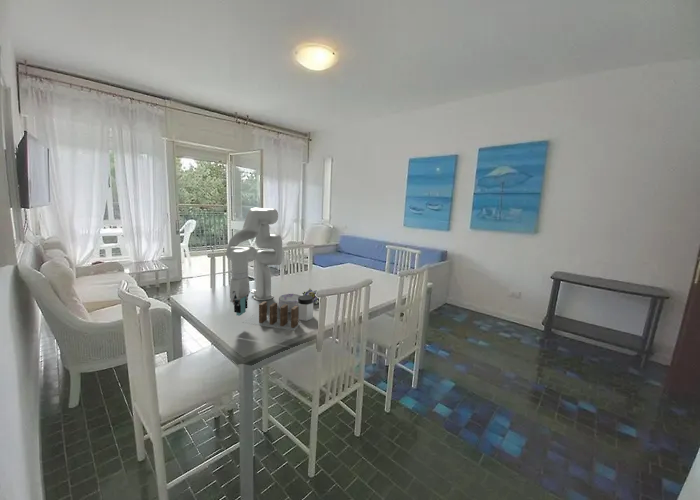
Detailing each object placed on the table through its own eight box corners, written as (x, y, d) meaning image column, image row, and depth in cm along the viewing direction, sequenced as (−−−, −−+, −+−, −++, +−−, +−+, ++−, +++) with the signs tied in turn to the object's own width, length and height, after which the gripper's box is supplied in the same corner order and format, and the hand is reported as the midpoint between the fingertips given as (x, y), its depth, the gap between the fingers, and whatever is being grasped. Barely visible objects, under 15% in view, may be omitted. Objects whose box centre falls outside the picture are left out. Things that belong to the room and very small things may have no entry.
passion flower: (311, 314, 180) (302, 301, 173) (305, 305, 189) (296, 293, 182) (326, 303, 183) (317, 290, 176) (319, 295, 191) (311, 282, 185)
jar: (306, 313, 166) (306, 293, 164) (315, 318, 161) (316, 297, 159) (294, 318, 160) (294, 297, 158) (303, 322, 154) (304, 301, 152)
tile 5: (290, 327, 147) (291, 309, 145) (294, 323, 152) (295, 305, 150) (294, 328, 146) (294, 309, 145) (298, 324, 151) (298, 306, 149)
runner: (242, 323, 150) (242, 322, 150) (252, 315, 160) (252, 315, 160) (294, 331, 144) (294, 330, 144) (301, 323, 153) (301, 322, 153)
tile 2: (259, 322, 151) (258, 304, 149) (263, 319, 155) (263, 301, 154) (262, 323, 150) (262, 304, 149) (266, 319, 155) (266, 301, 153)
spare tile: (236, 315, 141) (235, 296, 139) (242, 311, 146) (242, 292, 144) (239, 315, 141) (239, 296, 139) (245, 311, 145) (245, 293, 143)
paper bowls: (290, 303, 182) (290, 291, 180) (309, 308, 175) (310, 296, 173) (273, 310, 168) (273, 297, 167) (293, 316, 161) (294, 303, 160)
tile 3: (269, 324, 149) (269, 305, 148) (274, 320, 154) (274, 302, 152) (272, 324, 149) (272, 306, 147) (277, 321, 154) (277, 303, 152)
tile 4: (280, 325, 148) (280, 307, 146) (284, 322, 153) (284, 304, 151) (283, 326, 148) (283, 307, 146) (287, 322, 152) (287, 304, 151)
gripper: (243, 269, 148) (244, 302, 152) (221, 278, 132) (223, 316, 135) (256, 271, 146) (257, 304, 150) (236, 280, 130) (237, 318, 134)
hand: (241, 309), depth 143 cm, fingers closed on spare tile, 4 cm apart
